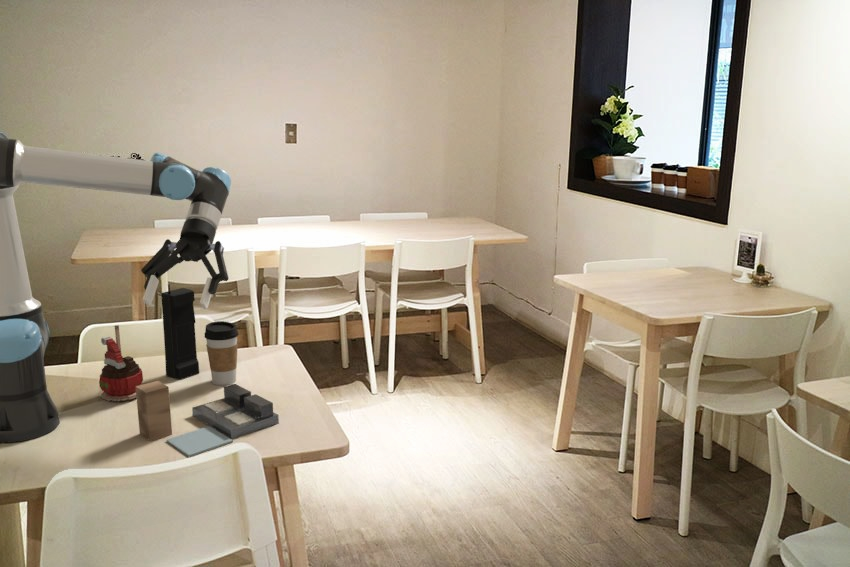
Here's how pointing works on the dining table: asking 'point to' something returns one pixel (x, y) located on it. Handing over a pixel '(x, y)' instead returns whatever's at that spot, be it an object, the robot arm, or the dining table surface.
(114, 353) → the cake
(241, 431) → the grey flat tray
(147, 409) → the walnut block
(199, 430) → the mat
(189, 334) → the portable radio
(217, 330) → the coffee cup
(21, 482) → the dining table surface
